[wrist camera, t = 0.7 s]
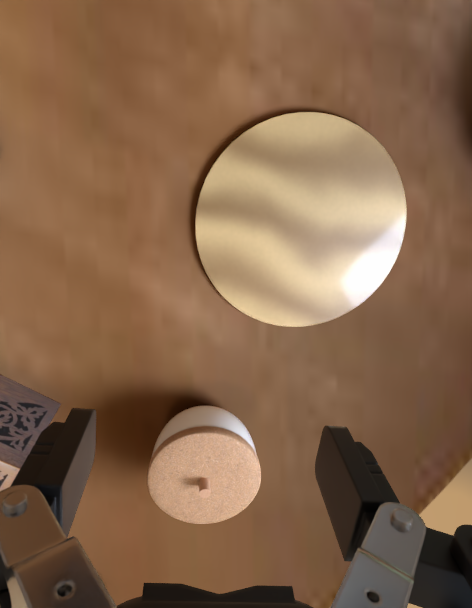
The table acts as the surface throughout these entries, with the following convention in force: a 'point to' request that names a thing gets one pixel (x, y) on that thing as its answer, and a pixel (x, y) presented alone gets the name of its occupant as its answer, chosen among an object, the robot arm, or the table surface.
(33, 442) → the tissue box cover
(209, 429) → the trinket box
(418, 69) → the table surface
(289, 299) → the disc
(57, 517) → the robot arm
